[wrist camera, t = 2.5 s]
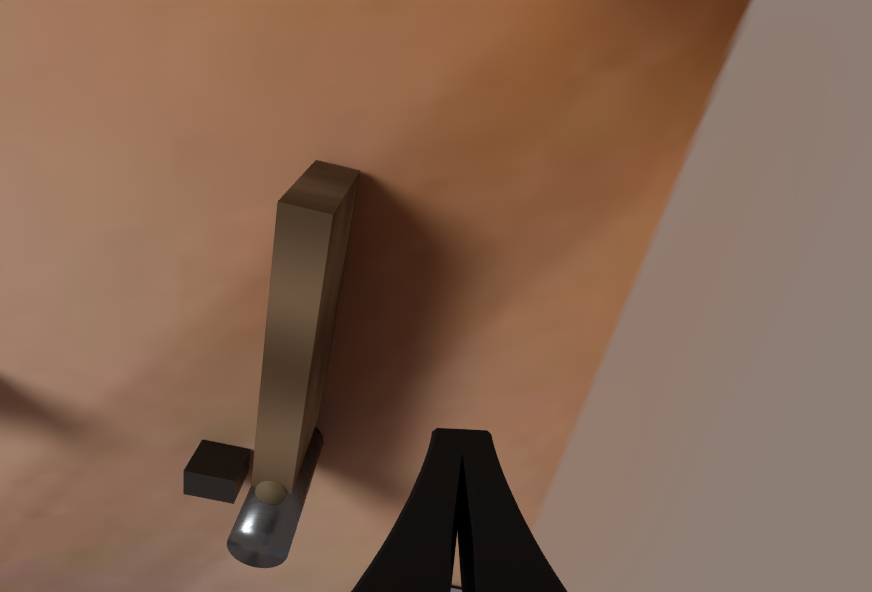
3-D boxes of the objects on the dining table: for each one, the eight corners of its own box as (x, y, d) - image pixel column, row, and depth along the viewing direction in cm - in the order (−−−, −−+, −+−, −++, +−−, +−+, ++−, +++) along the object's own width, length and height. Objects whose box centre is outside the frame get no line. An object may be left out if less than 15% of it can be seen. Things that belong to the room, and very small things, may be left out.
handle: (316, 427, 25) (289, 507, 21) (283, 420, 25) (249, 500, 21) (359, 170, 19) (332, 215, 15) (315, 160, 19) (276, 202, 15)
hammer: (326, 425, 26) (290, 535, 20) (315, 485, 28) (281, 598, 23) (-158, 325, 24) (-330, 416, 19) (-132, 396, 26) (-281, 495, 21)
